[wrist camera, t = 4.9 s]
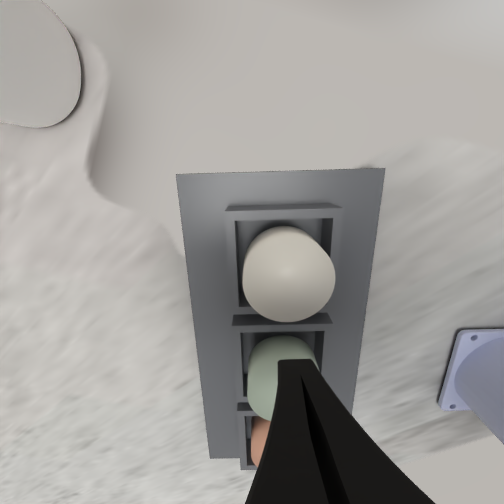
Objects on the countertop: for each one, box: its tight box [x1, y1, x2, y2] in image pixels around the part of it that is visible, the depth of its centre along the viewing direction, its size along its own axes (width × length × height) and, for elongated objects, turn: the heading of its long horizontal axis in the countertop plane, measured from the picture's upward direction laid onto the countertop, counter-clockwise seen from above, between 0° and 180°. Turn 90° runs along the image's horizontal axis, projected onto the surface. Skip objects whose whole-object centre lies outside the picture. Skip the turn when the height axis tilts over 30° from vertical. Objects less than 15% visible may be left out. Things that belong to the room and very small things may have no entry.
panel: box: [176, 168, 385, 470], centre depth 18 cm, size 12×24×4 cm, turn 2°
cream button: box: [242, 226, 335, 322], centre depth 13 cm, size 4×4×2 cm
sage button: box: [247, 335, 319, 421], centre depth 15 cm, size 4×4×2 cm
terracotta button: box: [251, 416, 271, 467], centre depth 18 cm, size 4×4×2 cm
